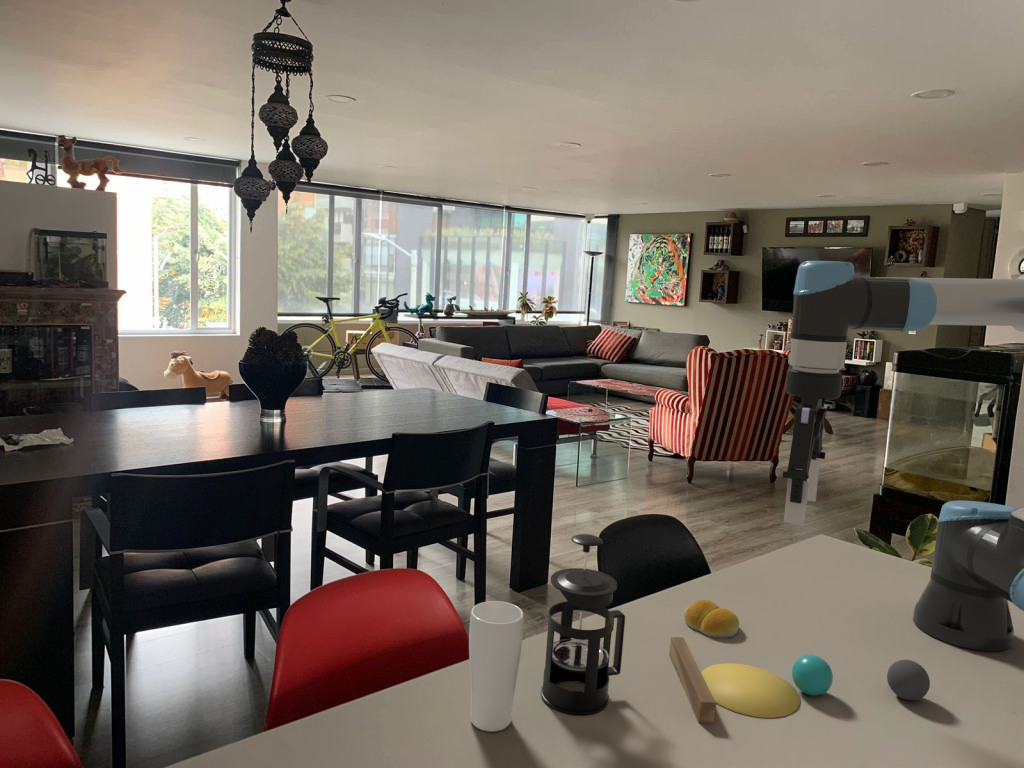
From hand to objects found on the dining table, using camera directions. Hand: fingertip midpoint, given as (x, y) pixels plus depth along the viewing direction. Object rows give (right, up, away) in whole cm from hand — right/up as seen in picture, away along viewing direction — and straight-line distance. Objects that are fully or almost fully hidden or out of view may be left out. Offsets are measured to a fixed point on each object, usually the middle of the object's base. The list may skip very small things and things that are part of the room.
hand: (800, 511), depth 113 cm
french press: (-34, -25, -8) cm, 42 cm away
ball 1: (0, -23, -3) cm, 23 cm away
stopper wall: (-17, -25, -3) cm, 30 cm away
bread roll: (-9, -23, +17) cm, 30 cm away
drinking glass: (-46, -25, -15) cm, 54 cm away
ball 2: (+14, -24, -3) cm, 28 cm away
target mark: (-9, -25, -3) cm, 27 cm away
